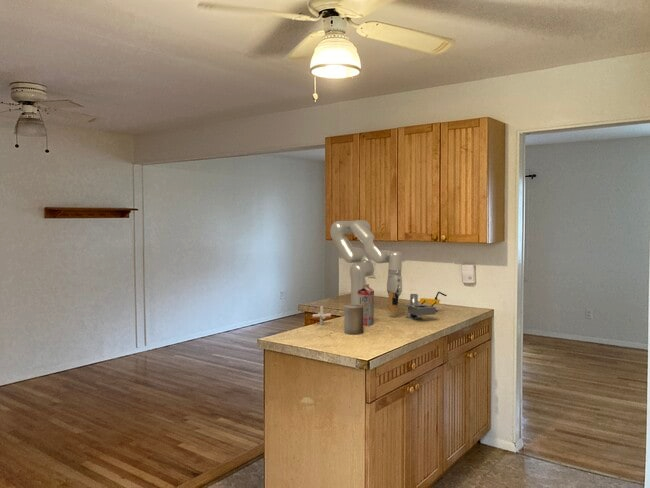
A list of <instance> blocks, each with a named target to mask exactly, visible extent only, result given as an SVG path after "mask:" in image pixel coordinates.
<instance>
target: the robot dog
mask: <svg viewBox="0 0 650 488" xmlns="http://www.w3.org/2000/svg"><path fill="white" fill-rule="evenodd" d="M439 295H442V296H444V297H447V294H446V293H443V292H441V291H437V293H436V295H435V297H434V298H426V297H421V298H419V303H418V304H422V305H424V304H429V306H432V307H434V306H435V305H440V302H441V300H440V299H439V298H438V296H439ZM436 313H438V310H437V309H436Z"/></svg>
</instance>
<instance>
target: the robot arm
mask: <svg viewBox="0 0 650 488" xmlns="http://www.w3.org/2000/svg"><path fill="white" fill-rule="evenodd" d="M329 233H330V237H331V239H332V241H333V243H334V244H335V246H336V247H337V250H338V251H339V253H340V254H341V256H342V257H343V259H344V261H345V262H346V263H348V264H351V265H350V268H349V276H350V305H352V304H353V305H358V291H359V290H361V289H363V285H367V280H366V278H367V277H370V276H372V275H373V274H374V273H375V266H374V264H373V262H375V263H376V264H386V263H387V264H388V267H387V269H388V270H387V273H388V274H387V279H386V280H387V281H386V291H387V294H388V295H387V296H388V297H389V291H391V292H393V293H394V298H393V305H398V306H399V298H400V296H401V295H402V292H403V279H402V278H403V277H402V266H403V254H402V252H401V251H395V250H394V251H392V250H388V249H383V250H381V249H379V248H378V247H377V246H376V245H375V243H374V240H375V238H376V237H375V234H374V233H372V231H371V224H370V223H369V222H368V220H366V219H365V220H364V219H356V220H337V221H334V222H333V223H332V224H331V225H330V229H329ZM345 235H354V236H355V237H356V238H357V239H358V240H359V241H360V243H361V244H362V245H363V248H364V249H363V248H361V247H358V246H357V247H354V246H353V245H352V243H351V241H350V240H349V238H348V237H347V236H345ZM372 261H373V262H372ZM396 292H397V293H396ZM395 294H396V295H395ZM342 311H344V312H345V308H344V307H343V310H342Z"/></svg>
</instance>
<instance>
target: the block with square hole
mask: <svg viewBox="0 0 650 488" xmlns="http://www.w3.org/2000/svg"><path fill="white" fill-rule="evenodd" d="M409 297H410V299H409V301H410V302H407V303H405V304H404V306H405V307H407V313H408V314H409V315H405V318H407V319H410V320H421V319H423V316H431V315H437V314H436V313H437V312H436V310H437V309H436V307H435V306H433V307H432V306H429V305H430V304H429V305H428V304H419V303H418V302H419V294H418V293H410V295H409Z"/></svg>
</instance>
